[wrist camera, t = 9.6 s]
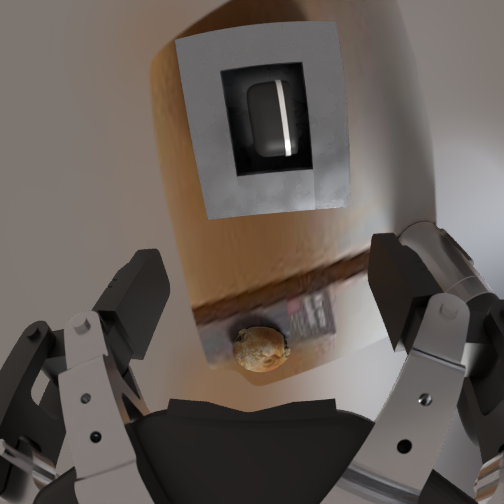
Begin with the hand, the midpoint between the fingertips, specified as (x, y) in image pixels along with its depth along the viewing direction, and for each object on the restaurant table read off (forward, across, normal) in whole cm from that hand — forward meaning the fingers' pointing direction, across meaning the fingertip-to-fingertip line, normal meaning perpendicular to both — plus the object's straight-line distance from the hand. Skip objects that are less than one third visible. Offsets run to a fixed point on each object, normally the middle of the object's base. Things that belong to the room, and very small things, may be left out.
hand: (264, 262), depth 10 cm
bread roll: (+27, +4, +36) cm, 45 cm away
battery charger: (+26, 0, -4) cm, 26 cm away
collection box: (+26, 0, -4) cm, 27 cm away
